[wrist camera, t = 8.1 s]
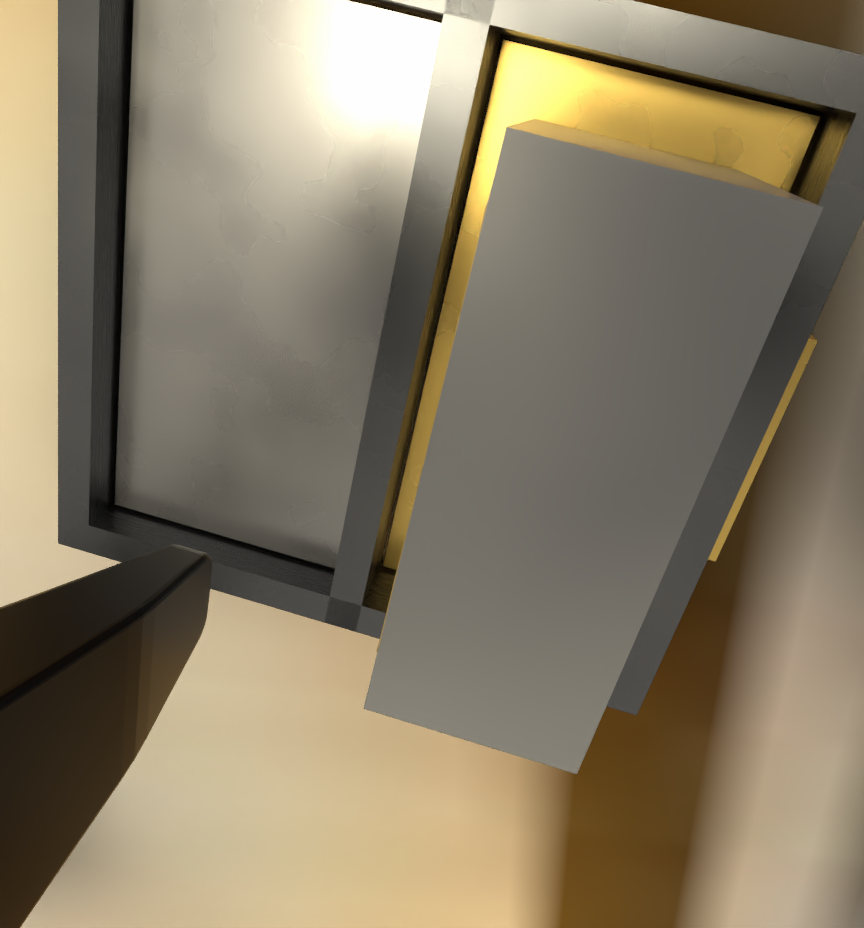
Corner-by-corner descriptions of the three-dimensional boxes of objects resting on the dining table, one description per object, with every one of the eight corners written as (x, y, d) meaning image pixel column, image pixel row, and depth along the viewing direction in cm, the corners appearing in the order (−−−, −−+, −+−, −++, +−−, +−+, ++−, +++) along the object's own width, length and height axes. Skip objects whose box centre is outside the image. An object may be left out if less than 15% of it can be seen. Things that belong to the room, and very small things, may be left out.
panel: (581, 588, 19) (579, 774, 14) (422, 542, 20) (361, 707, 14) (739, 170, 15) (827, 208, 9) (531, 117, 15) (502, 125, 10)
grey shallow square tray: (639, 663, 20) (644, 717, 18) (102, 506, 21) (58, 543, 19) (898, 77, 14) (943, 74, 12) (120, -108, 15) (58, -135, 13)
